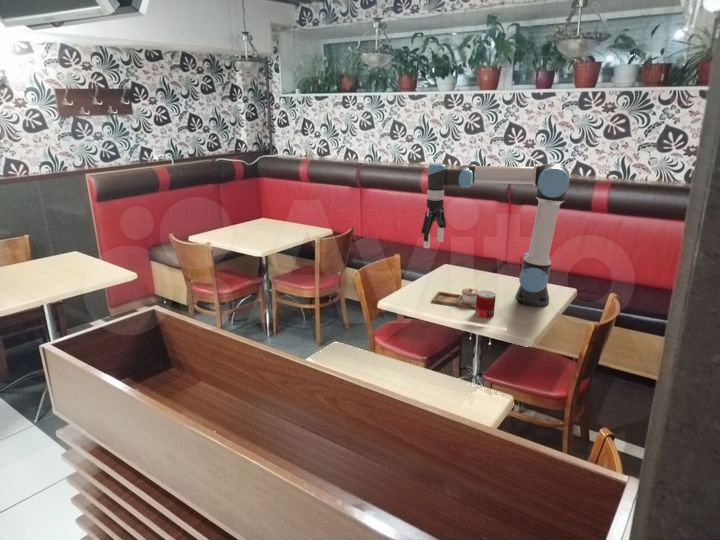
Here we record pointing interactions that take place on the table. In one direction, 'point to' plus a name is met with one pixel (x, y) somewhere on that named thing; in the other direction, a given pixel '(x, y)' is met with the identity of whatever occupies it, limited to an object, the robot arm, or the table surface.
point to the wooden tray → (450, 300)
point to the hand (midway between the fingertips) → (433, 244)
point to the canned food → (485, 304)
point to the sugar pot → (469, 296)
